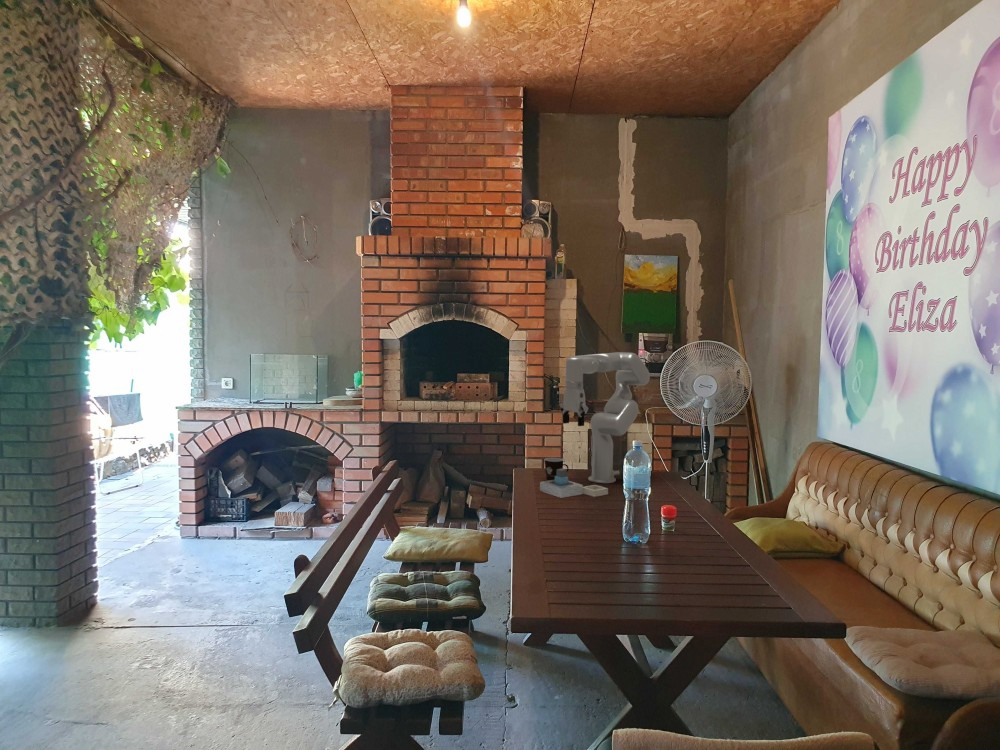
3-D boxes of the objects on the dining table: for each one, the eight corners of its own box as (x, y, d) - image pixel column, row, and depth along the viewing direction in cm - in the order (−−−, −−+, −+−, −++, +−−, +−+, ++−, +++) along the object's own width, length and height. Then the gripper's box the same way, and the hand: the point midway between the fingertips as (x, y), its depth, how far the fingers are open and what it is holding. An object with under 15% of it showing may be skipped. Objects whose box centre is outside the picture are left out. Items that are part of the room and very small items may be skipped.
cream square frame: (594, 490, 278) (595, 484, 278) (608, 494, 271) (608, 488, 271) (581, 492, 273) (581, 487, 273) (594, 496, 267) (594, 490, 266)
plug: (561, 491, 276) (562, 468, 275) (567, 493, 273) (568, 469, 272) (554, 492, 274) (554, 469, 273) (560, 494, 270) (561, 470, 270)
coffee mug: (540, 479, 297) (541, 458, 296) (556, 478, 300) (557, 457, 300) (553, 485, 286) (553, 463, 286) (569, 483, 290) (570, 461, 289)
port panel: (561, 487, 282) (561, 477, 282) (582, 494, 271) (582, 484, 271) (539, 491, 275) (540, 481, 275) (561, 498, 264) (561, 487, 264)
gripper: (594, 386, 273) (593, 426, 274) (567, 384, 287) (566, 421, 288) (581, 387, 269) (580, 427, 270) (554, 384, 283) (554, 422, 284)
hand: (573, 424), depth 279 cm, fingers open, 9 cm apart
